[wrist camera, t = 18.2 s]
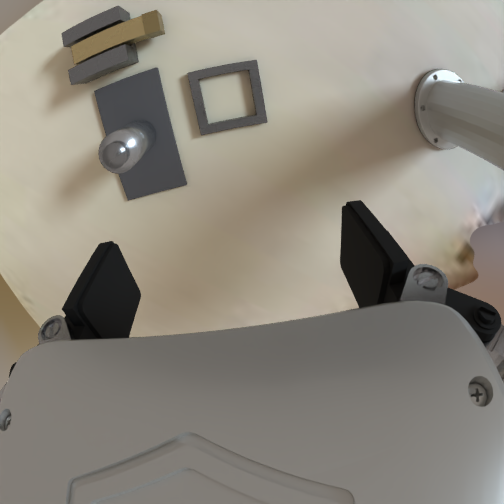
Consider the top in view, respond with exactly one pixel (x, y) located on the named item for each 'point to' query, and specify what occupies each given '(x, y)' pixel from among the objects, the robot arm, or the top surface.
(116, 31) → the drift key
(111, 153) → the peg
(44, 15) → the top surface
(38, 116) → the top surface
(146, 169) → the mat
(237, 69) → the socket collar
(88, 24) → the socket block
